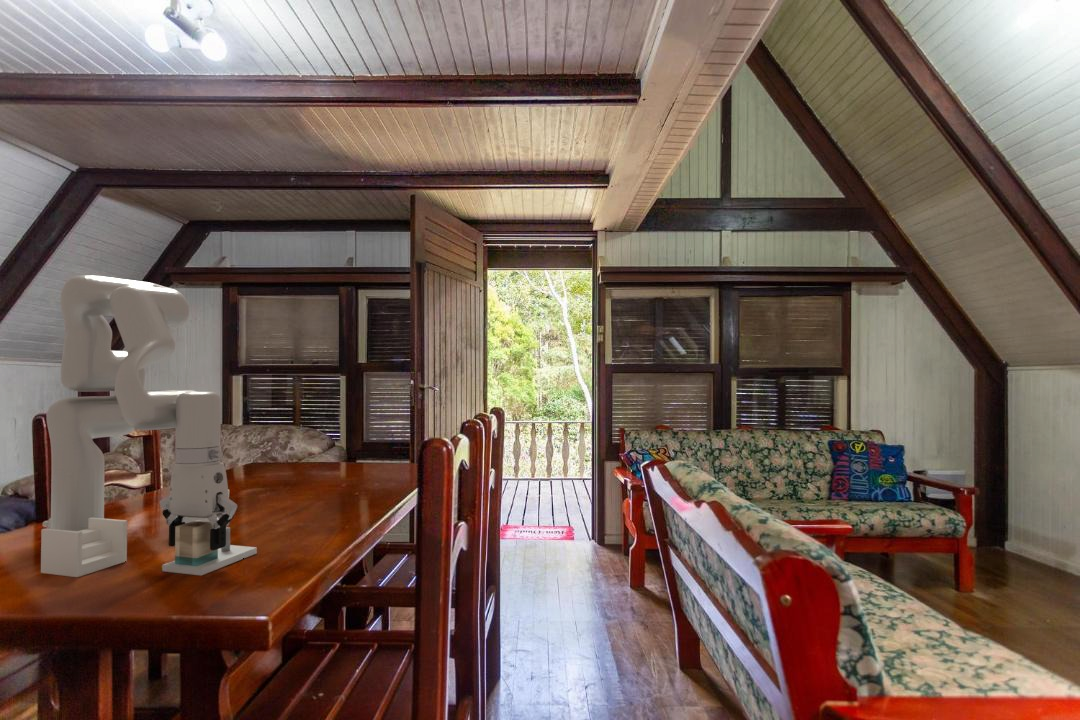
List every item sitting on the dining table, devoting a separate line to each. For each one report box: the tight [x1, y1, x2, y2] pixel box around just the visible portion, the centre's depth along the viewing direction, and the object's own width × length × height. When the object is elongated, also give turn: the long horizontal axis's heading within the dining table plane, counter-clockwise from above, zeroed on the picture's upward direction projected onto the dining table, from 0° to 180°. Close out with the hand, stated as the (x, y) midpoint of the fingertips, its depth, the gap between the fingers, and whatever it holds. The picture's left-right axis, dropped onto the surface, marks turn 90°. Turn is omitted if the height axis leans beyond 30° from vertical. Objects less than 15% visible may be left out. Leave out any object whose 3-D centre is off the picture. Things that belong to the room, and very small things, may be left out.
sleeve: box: [174, 520, 218, 566], centre depth 115 cm, size 5×5×7 cm
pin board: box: [161, 526, 258, 576], centre depth 118 cm, size 9×14×6 cm, turn 164°
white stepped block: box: [40, 517, 128, 578], centre depth 115 cm, size 9×10×8 cm
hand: (197, 546), depth 115 cm, fingers open, 9 cm apart
